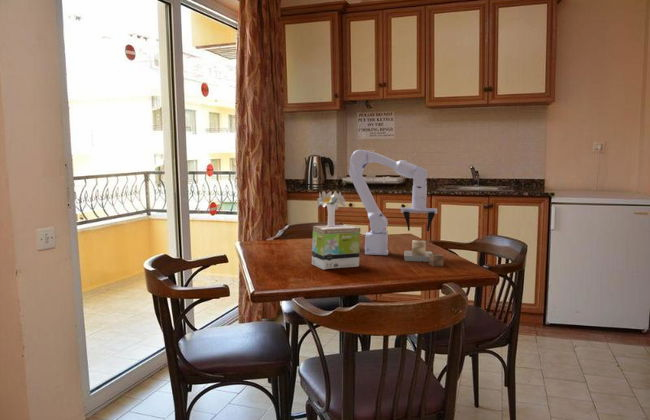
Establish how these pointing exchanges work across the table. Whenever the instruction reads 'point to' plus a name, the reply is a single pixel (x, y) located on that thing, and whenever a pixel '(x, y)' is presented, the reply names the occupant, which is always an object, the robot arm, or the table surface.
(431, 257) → the walnut block
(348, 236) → the tea box
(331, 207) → the flower vase
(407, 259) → the plate
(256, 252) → the table surface
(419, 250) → the maple cube
